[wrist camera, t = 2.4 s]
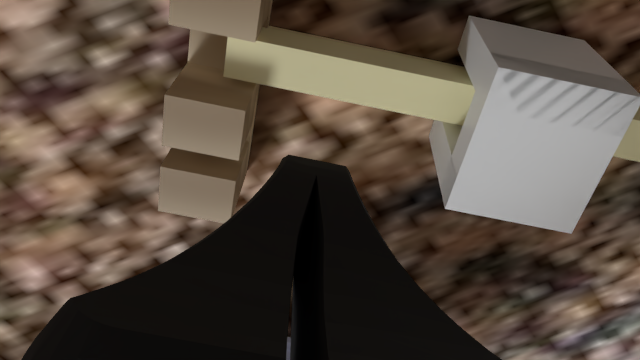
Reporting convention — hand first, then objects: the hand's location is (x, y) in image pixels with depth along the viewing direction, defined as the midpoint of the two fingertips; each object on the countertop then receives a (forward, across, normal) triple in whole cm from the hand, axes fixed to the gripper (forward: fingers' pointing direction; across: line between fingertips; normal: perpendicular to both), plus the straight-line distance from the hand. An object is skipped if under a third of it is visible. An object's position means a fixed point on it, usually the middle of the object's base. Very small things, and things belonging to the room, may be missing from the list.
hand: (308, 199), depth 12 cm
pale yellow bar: (+9, -8, 0) cm, 13 cm away
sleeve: (+9, -6, 0) cm, 11 cm away
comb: (+9, +3, 0) cm, 10 cm away
